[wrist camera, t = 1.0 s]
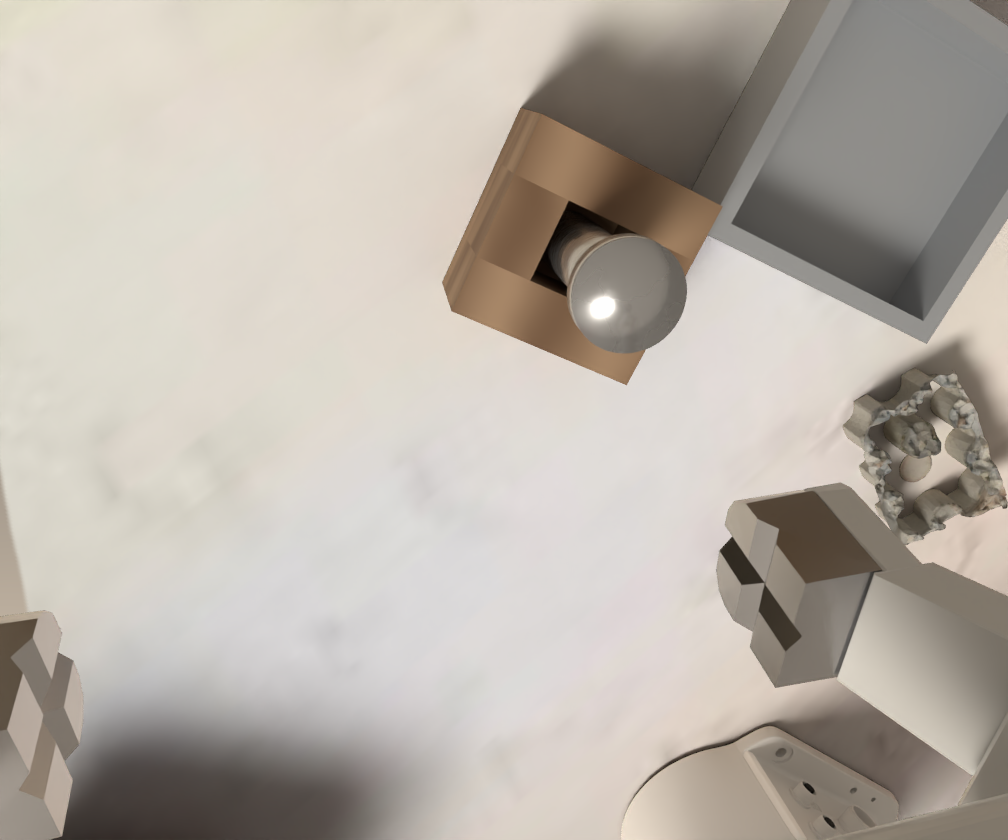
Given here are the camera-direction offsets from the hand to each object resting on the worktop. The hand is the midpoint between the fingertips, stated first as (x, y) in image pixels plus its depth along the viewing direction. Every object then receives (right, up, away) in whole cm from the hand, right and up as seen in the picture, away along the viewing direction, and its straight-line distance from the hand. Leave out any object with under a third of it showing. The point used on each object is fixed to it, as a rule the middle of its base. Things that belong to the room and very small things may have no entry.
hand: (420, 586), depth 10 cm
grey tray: (+21, +17, +37) cm, 46 cm away
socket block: (+4, +12, +37) cm, 39 cm away
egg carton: (+27, 0, +46) cm, 53 cm away
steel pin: (+4, +12, +35) cm, 37 cm away
